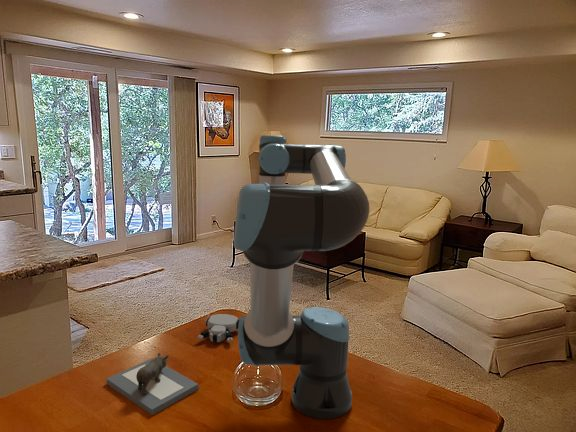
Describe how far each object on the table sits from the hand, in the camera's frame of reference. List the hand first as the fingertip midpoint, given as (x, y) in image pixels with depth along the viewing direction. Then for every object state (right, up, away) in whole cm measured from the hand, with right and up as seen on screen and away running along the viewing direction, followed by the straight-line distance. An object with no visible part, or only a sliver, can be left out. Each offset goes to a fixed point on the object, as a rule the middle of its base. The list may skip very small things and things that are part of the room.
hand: (270, 262), depth 128 cm
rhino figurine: (-30, -29, -14) cm, 44 cm away
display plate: (-30, -31, -14) cm, 45 cm away
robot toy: (-17, -26, +16) cm, 35 cm away
